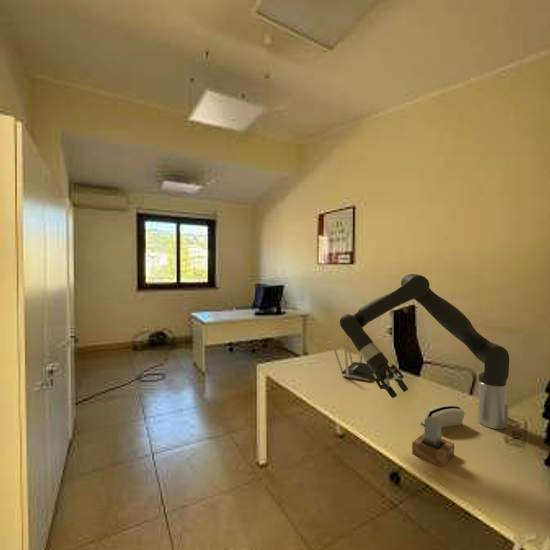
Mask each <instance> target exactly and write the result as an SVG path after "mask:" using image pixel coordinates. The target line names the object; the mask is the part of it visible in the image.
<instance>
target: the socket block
mask: <svg viewBox="0 0 550 550" xmlns="http://www.w3.org/2000/svg"><path fill="white" fill-rule="evenodd" d="M411 443H412V445H411V448H412V449H411V451H412V452H411V453H412V454H411V455H415V456H417V457H419V458H422V459H424V460H425V461H427V462H430V463H432V464H435V465H436V466H440V467H442V468H443V467H444V466H445V465H446V464H447V463H448V462H449V461H450V460H451V459H452V458H453V457H454V456H455V443H454V442H451V441H449V440H446V439H443V438H441V448H440V449H439V450H438V449H435V448H433V447H430V446H428V445H425V431H424V432H423V433H422V434H420V435H419V436H418V437H417V438H416V439H414V440H413V441H412V442H411Z"/></svg>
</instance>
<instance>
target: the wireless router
mask: <svg viewBox="0 0 550 550" xmlns="http://www.w3.org/2000/svg"><path fill="white" fill-rule="evenodd" d="M344 339H345V343H346V346H344V347H343V349H344V359H345V360H344V361H345V369H344V370H343V367H342V364H341V361H340V358H339V355H338V352H337V350H336V349H337V348H336V347H335V344H334V343H331V346H332V348H333V351H334V354H335V357H336V360H337V363H338V367H339V369H340V372H341V373H340V374H341V375H344V377H346V378H349V379H350V378H352V379H356V380H362V381H365V382H366V381H368V382H370V381H371V380H372V379H373V377H372V375H373V374H374V373H375V372H373V371H372V370H371V369H370V367H369V366H368V365H367V363H366V362H365V363H364V362H363V358H362V356H361V354H360V353H359V359H358V360H359V361H354V362H353V358H352V357H353V356H352V354H351V350H350V347H349V346H350V345H349V340H348V338H347V337H346V336H344ZM347 352H348V353H347ZM348 356H349V359H348ZM348 360H350V365H349V361H348Z"/></svg>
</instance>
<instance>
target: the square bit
mask: <svg viewBox="0 0 550 550" xmlns="http://www.w3.org/2000/svg"><path fill="white" fill-rule="evenodd" d="M424 432H425V445H428V446H430V447H433V448H435V449H438V450H439V449H440V448H441V439H442V428H441V420H439V419H436V418H433V417H430V416H429V417H428V418H427V419H425V425H424Z"/></svg>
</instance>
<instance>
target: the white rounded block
mask: <svg viewBox="0 0 550 550" xmlns="http://www.w3.org/2000/svg"><path fill="white" fill-rule="evenodd" d="M429 416H430V417H433V418H436V419H439V420H441V429H442V428H448V427H455V426H460V425H463V422H464V421H463V420H464V416H465V412H464V409H462V408H461V407H460V406H459V405H458V404H449V403H448V404H440V405H436V406H434V407H431V408H429V409H427V411H426V413H425V416H424V418H423V419H421V420H420V423H419V424H420V425H423V426H425V419H427V418H428V417H429Z"/></svg>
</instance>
